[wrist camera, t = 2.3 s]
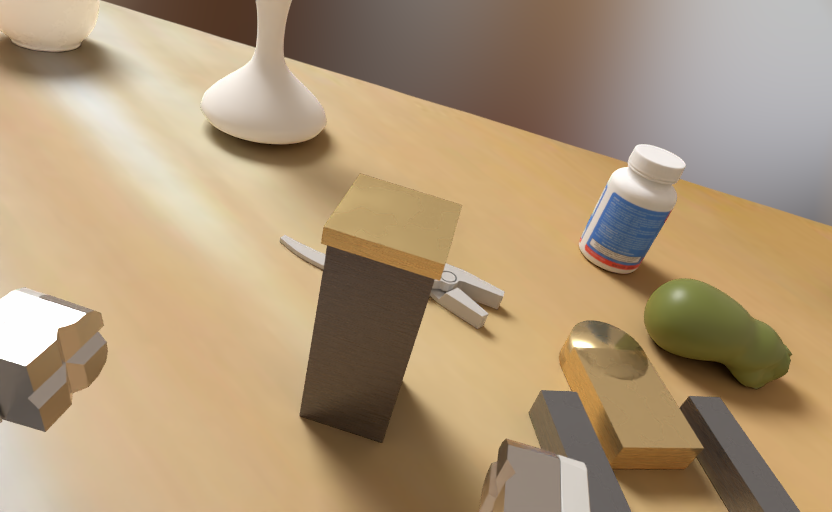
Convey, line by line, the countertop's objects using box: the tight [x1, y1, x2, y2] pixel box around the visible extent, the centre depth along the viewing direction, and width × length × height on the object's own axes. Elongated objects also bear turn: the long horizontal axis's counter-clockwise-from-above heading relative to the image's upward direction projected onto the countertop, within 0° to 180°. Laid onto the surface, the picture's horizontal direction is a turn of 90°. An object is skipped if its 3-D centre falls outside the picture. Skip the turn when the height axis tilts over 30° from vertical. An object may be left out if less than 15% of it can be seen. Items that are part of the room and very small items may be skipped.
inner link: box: [559, 321, 704, 469], centre depth 33 cm, size 10×5×2 cm, turn 8°
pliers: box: [280, 235, 504, 329], centre depth 39 cm, size 10×2×15 cm
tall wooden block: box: [300, 173, 462, 443], centre depth 26 cm, size 5×5×12 cm
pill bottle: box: [579, 144, 686, 274], centre depth 44 cm, size 6×5×10 cm
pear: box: [644, 279, 792, 389], centre depth 38 cm, size 6×5×10 cm
